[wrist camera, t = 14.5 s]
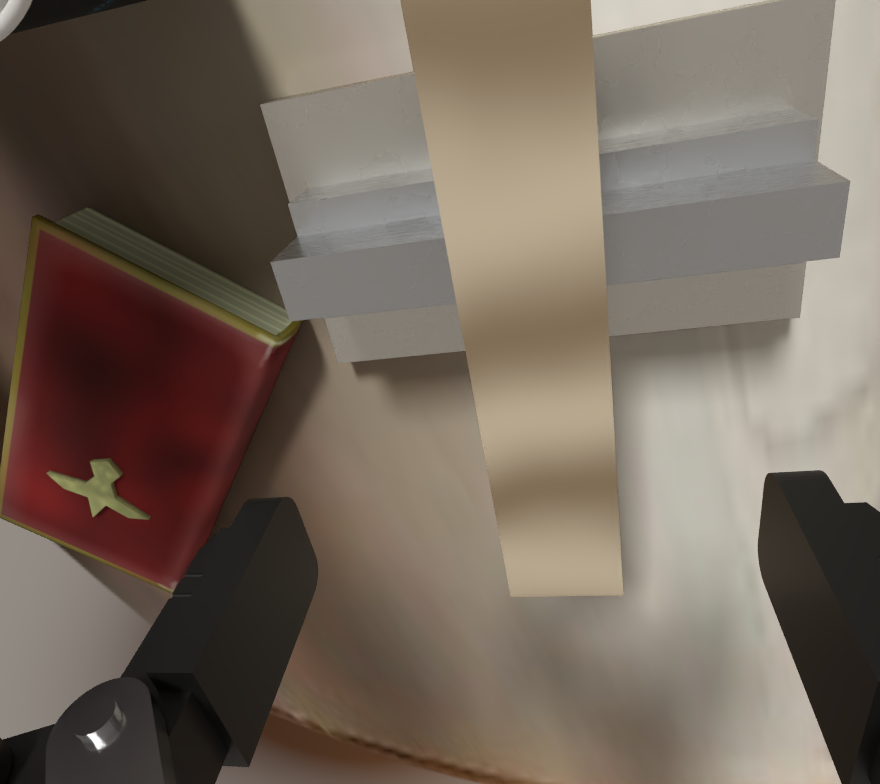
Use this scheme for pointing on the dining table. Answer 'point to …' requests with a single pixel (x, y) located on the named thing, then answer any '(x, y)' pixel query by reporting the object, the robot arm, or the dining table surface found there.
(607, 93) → the ridge
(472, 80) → the beech batten
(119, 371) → the hardcover book
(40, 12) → the dixie cup
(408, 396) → the dining table surface
